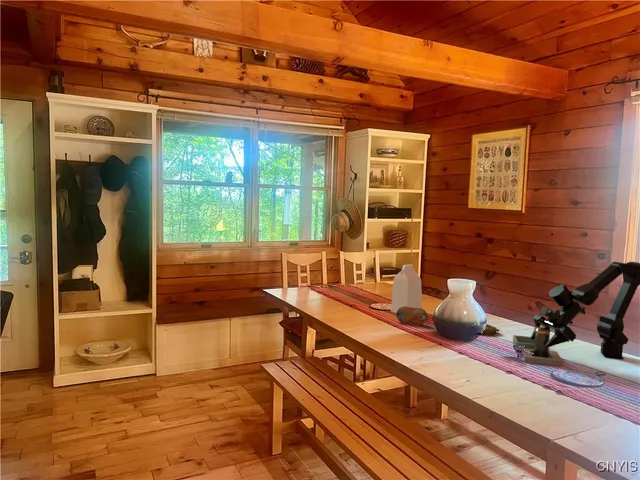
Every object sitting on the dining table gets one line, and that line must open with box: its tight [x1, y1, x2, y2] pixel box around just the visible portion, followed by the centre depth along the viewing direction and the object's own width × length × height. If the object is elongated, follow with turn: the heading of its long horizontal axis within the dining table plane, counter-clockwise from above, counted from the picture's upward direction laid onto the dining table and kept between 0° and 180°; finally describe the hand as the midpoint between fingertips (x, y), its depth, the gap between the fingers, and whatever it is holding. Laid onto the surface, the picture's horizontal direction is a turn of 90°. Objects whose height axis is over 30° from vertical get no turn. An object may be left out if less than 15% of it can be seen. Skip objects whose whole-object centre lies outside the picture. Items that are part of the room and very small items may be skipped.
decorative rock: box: [482, 323, 500, 337], centre depth 211 cm, size 11×4×15 cm
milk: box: [390, 264, 423, 314], centre depth 242 cm, size 12×12×26 cm
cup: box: [512, 334, 535, 349], centre depth 187 cm, size 11×11×4 cm
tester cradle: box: [523, 348, 564, 367], centre depth 174 cm, size 13×11×2 cm
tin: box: [396, 306, 428, 326], centre depth 221 cm, size 15×3×8 cm, turn 62°
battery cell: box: [534, 325, 551, 358], centre depth 174 cm, size 5×5×13 cm
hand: (538, 342), depth 174 cm, fingers open, 9 cm apart
